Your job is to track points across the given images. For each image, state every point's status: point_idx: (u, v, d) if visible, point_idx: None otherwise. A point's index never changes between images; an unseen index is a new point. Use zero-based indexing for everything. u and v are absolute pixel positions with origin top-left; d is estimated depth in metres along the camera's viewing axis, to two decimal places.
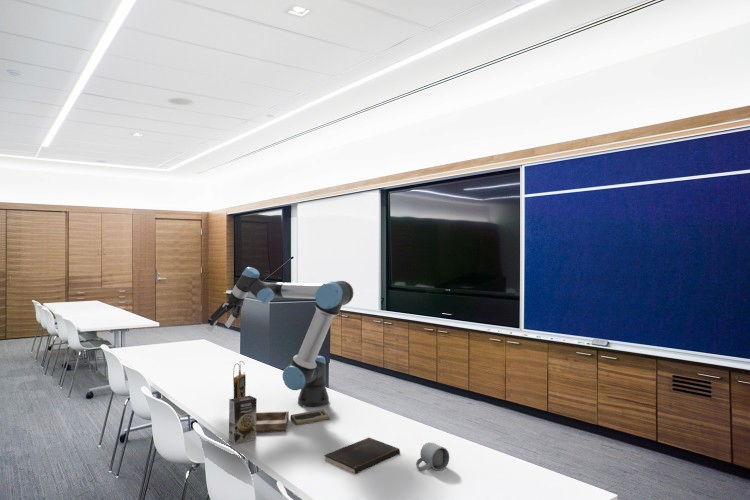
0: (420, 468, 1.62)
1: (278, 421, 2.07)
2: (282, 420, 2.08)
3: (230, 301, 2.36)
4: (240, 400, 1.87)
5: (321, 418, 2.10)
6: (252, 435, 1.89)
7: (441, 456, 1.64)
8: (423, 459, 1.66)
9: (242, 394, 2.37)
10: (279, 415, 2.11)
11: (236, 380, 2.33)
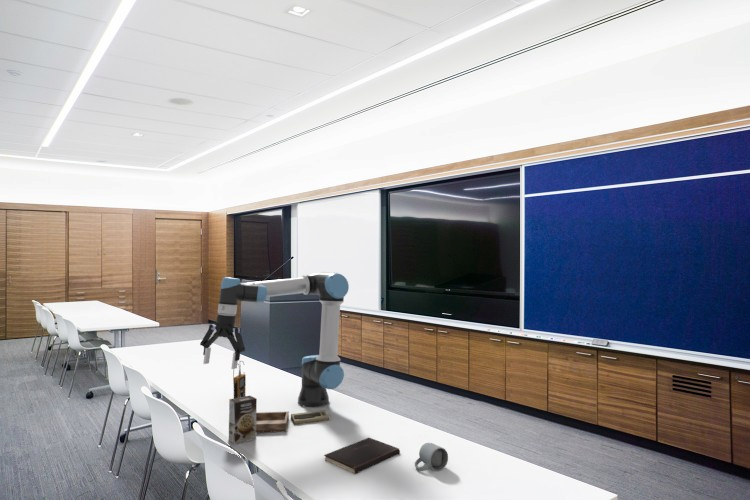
0: (419, 468, 1.61)
1: (278, 421, 2.07)
2: (282, 420, 2.08)
3: (233, 324, 1.98)
4: (240, 400, 1.87)
5: (320, 419, 2.10)
6: (252, 435, 1.89)
7: (440, 456, 1.64)
8: (422, 459, 1.65)
9: (242, 394, 2.37)
10: (279, 415, 2.11)
11: (236, 380, 2.33)
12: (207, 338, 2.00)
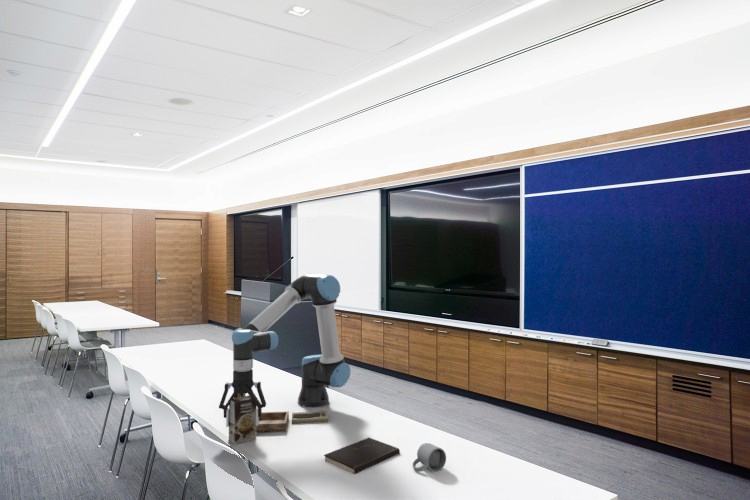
0: (417, 469, 1.61)
1: (278, 421, 2.07)
2: (282, 420, 2.08)
3: None
4: (240, 400, 1.87)
5: (318, 419, 2.09)
6: (252, 435, 1.89)
7: (438, 457, 1.64)
8: (420, 460, 1.65)
9: (242, 394, 2.37)
10: (279, 415, 2.11)
11: None
12: (224, 399, 1.89)
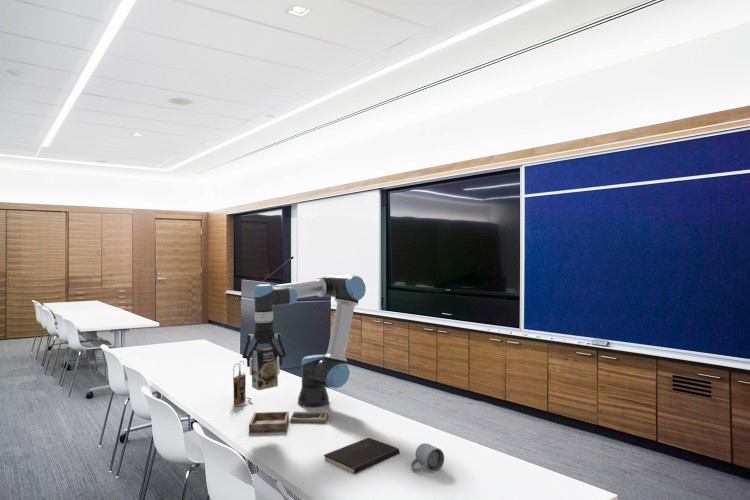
0: (415, 469, 1.61)
1: (278, 421, 2.07)
2: (282, 420, 2.08)
3: None
4: (262, 350, 1.99)
5: (316, 420, 2.08)
6: (274, 382, 2.01)
7: (436, 457, 1.63)
8: (418, 460, 1.65)
9: (242, 394, 2.37)
10: (279, 415, 2.11)
11: (236, 380, 2.33)
12: (247, 349, 2.00)
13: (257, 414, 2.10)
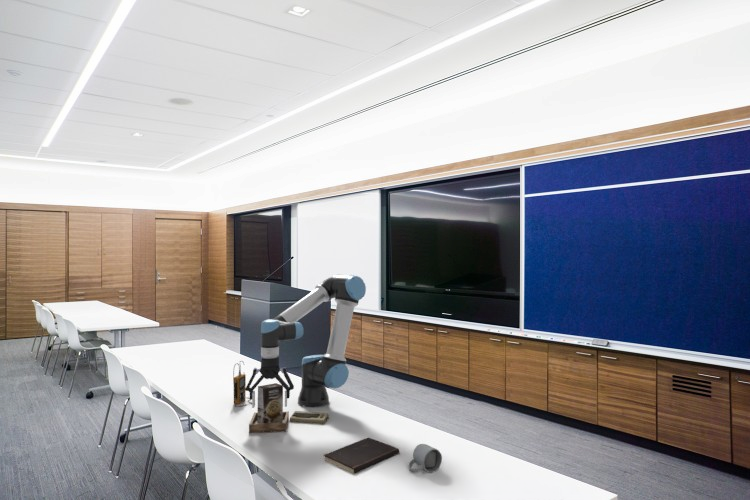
0: (412, 470, 1.60)
1: None
2: None
3: (278, 364, 2.05)
4: (268, 387, 2.02)
5: (315, 420, 2.07)
6: (279, 419, 2.04)
7: (433, 458, 1.63)
8: (415, 461, 1.64)
9: (242, 394, 2.37)
10: None
11: (236, 380, 2.33)
12: (251, 382, 2.03)
13: None
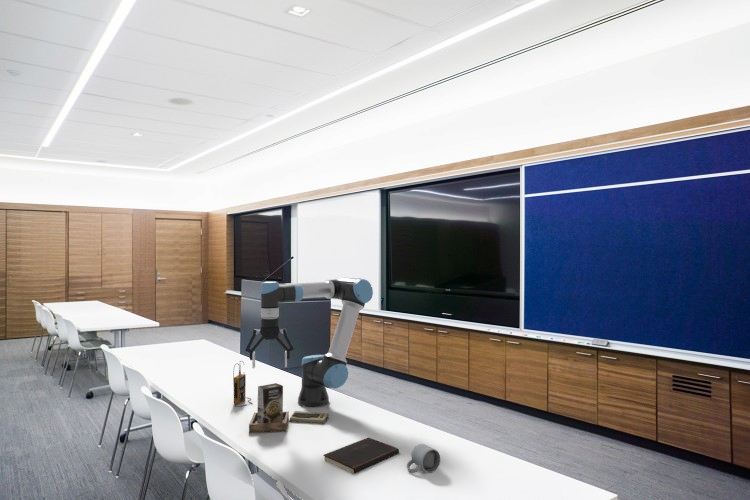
0: (411, 470, 1.60)
1: None
2: None
3: (278, 325, 2.06)
4: (268, 387, 2.02)
5: (315, 420, 2.07)
6: (279, 419, 2.04)
7: (432, 458, 1.63)
8: (414, 461, 1.64)
9: (242, 394, 2.37)
10: None
11: (236, 380, 2.33)
12: (251, 343, 2.04)
13: None
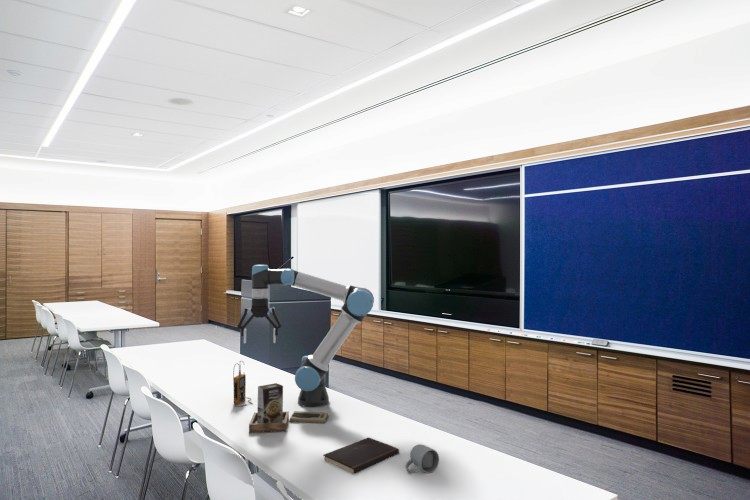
0: (409, 470, 1.60)
1: None
2: None
3: None
4: (268, 387, 2.02)
5: (315, 420, 2.08)
6: (279, 419, 2.04)
7: (431, 458, 1.62)
8: (413, 461, 1.64)
9: (242, 394, 2.37)
10: None
11: (236, 380, 2.33)
12: None
13: None
